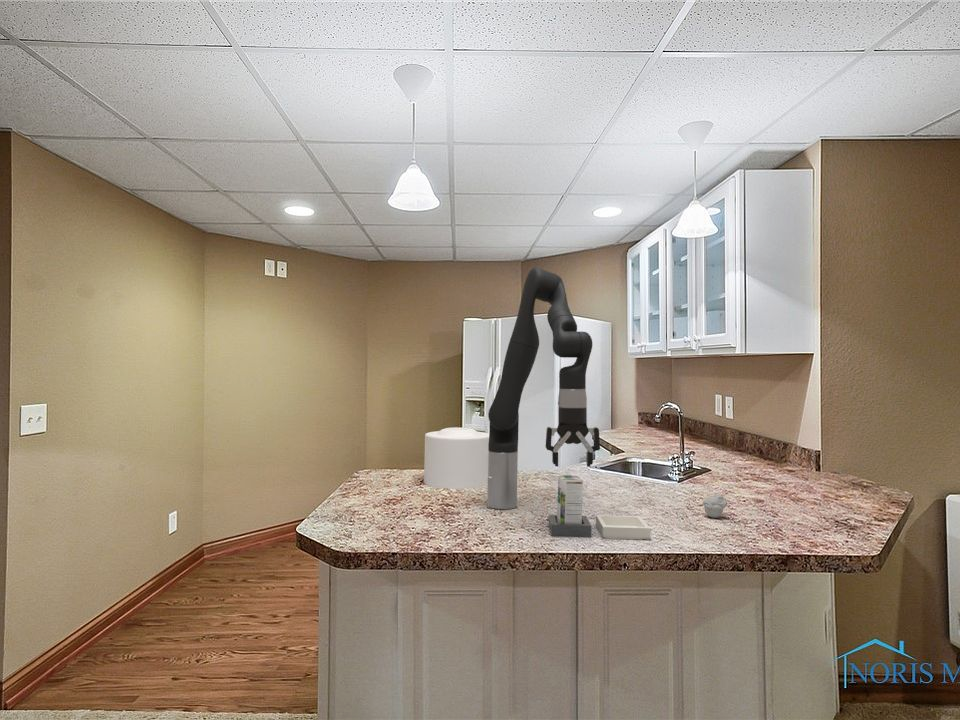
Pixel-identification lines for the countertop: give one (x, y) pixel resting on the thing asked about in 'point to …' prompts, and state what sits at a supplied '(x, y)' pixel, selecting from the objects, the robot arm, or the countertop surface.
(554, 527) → the socket
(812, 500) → the countertop surface
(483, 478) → the container
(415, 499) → the countertop surface
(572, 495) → the syrup box
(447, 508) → the countertop surface
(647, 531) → the tray
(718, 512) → the frog figurine
